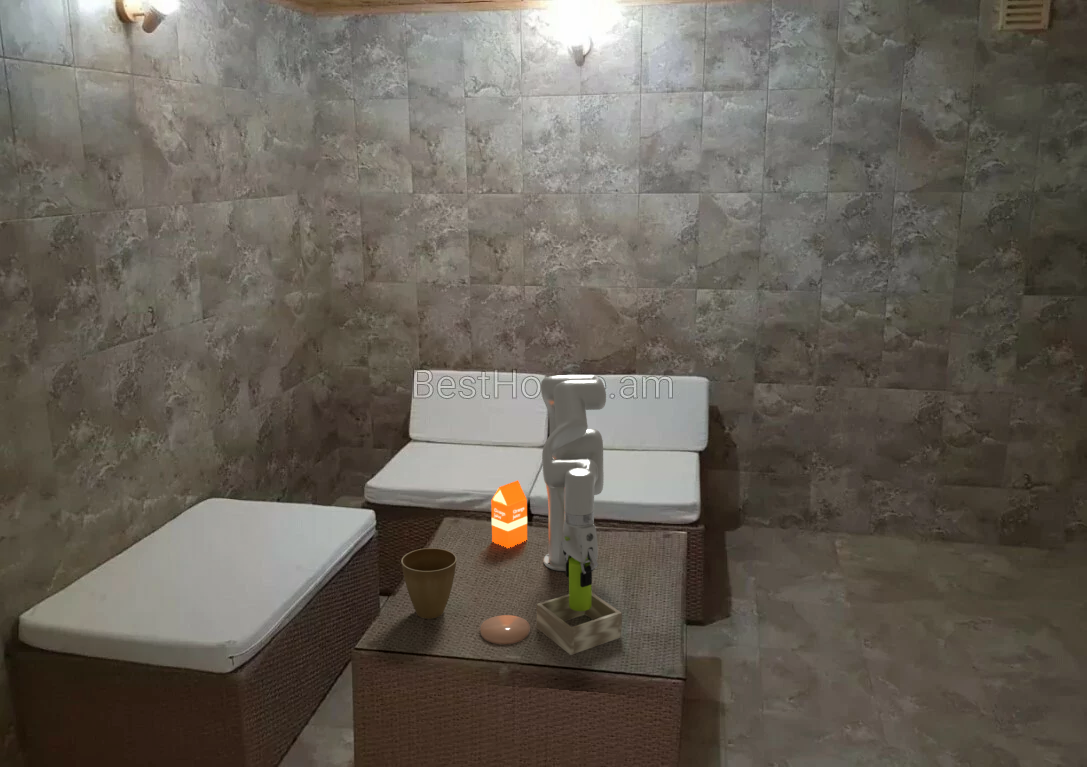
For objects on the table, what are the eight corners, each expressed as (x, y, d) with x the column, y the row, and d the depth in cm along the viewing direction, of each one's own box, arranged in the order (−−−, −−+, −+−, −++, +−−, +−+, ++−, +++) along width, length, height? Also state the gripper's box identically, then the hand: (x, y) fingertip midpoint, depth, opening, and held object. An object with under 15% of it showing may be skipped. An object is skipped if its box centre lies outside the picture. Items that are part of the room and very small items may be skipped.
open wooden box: (586, 611, 249) (586, 588, 247) (621, 637, 236) (621, 612, 234) (536, 627, 240) (536, 603, 239) (570, 655, 227) (570, 629, 226)
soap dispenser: (564, 601, 240) (563, 531, 234) (589, 599, 240) (589, 530, 235) (566, 612, 234) (565, 541, 229) (592, 610, 235) (592, 540, 229)
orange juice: (527, 540, 295) (527, 482, 290) (508, 548, 289) (507, 490, 284) (510, 533, 300) (510, 477, 295) (491, 541, 294) (490, 484, 289)
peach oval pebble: (513, 614, 247) (513, 610, 247) (539, 635, 237) (538, 631, 236) (471, 627, 241) (471, 623, 240) (495, 649, 230) (495, 645, 230)
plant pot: (435, 631, 239) (433, 575, 235) (392, 616, 247) (389, 562, 243) (469, 607, 251) (467, 554, 247) (427, 594, 259) (425, 543, 255)
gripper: (611, 525, 225) (610, 590, 230) (572, 502, 239) (572, 563, 244) (586, 532, 221) (585, 598, 226) (548, 508, 235) (548, 571, 240)
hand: (578, 579), depth 235 cm, fingers closed on soap dispenser, 5 cm apart
